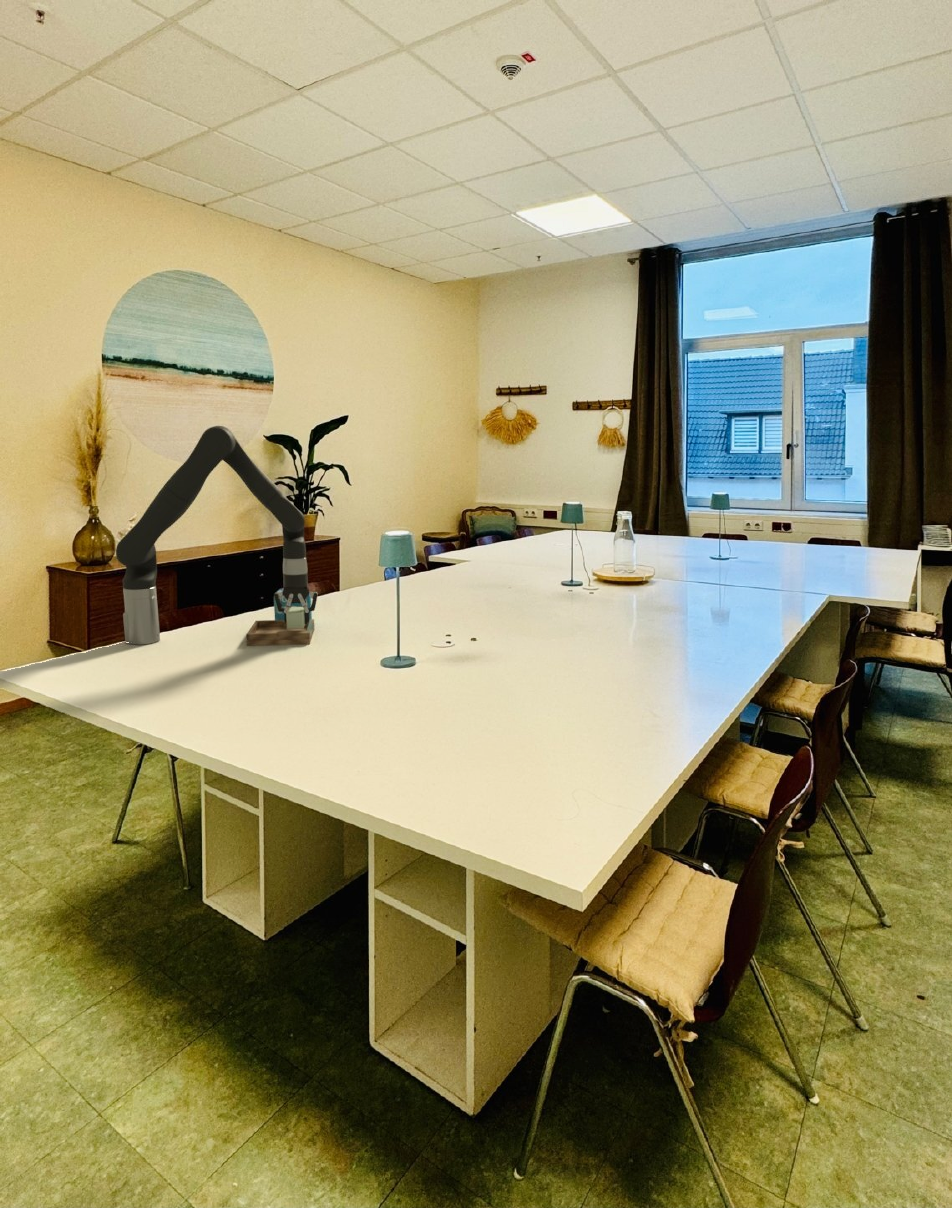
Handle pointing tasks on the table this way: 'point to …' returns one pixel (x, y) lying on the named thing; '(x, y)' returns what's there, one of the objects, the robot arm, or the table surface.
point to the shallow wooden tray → (278, 633)
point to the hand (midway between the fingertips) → (297, 623)
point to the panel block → (295, 618)
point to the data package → (280, 615)
